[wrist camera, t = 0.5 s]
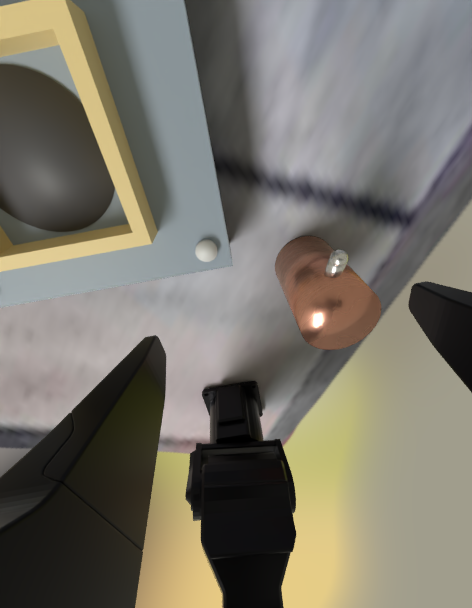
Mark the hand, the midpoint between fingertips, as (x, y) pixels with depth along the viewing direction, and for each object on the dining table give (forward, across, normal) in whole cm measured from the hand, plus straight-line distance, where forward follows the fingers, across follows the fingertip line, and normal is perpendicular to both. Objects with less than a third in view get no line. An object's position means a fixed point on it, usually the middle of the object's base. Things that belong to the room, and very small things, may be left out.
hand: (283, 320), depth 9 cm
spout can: (+13, -4, +5) cm, 15 cm away
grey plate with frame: (+13, +10, -8) cm, 18 cm away
